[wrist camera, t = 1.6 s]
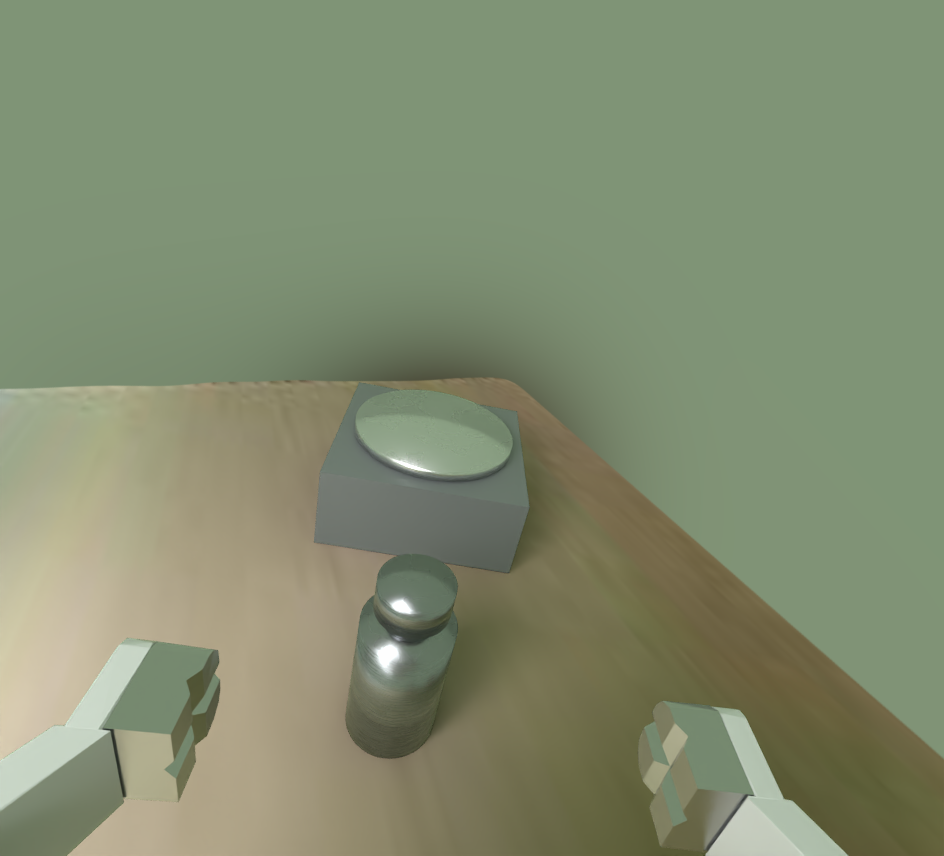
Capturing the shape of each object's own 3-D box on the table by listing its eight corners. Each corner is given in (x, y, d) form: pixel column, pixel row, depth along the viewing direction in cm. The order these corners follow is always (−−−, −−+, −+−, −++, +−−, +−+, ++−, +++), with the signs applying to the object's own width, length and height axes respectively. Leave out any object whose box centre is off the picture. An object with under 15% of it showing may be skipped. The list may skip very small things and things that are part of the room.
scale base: (313, 542, 40) (320, 471, 37) (353, 437, 52) (360, 379, 50) (508, 573, 41) (529, 507, 38) (501, 463, 54) (516, 408, 51)
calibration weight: (336, 752, 28) (356, 614, 23) (354, 671, 32) (374, 539, 27) (430, 763, 28) (467, 630, 23) (436, 682, 32) (469, 554, 27)
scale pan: (339, 464, 38) (340, 454, 37) (369, 387, 48) (370, 379, 48) (514, 494, 39) (517, 485, 38) (506, 413, 49) (508, 405, 49)
